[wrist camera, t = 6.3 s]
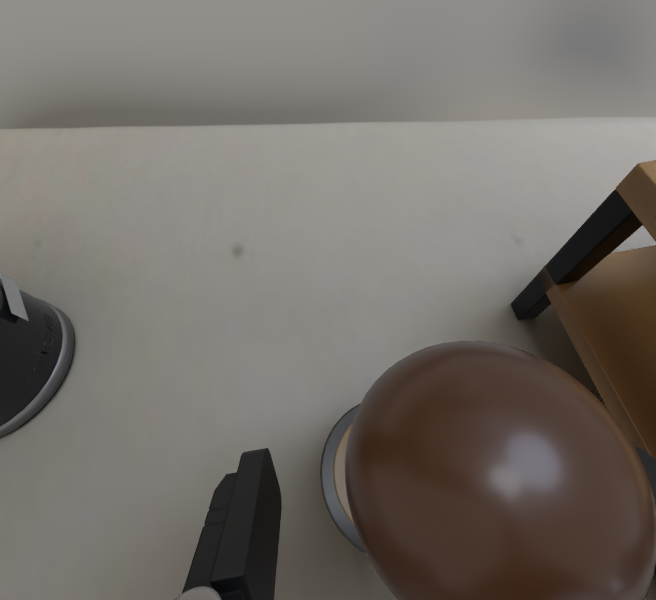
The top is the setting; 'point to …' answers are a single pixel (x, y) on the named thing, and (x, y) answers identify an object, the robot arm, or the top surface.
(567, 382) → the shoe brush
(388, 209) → the top surface
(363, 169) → the top surface
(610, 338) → the tan black-edged stand
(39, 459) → the top surface
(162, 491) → the top surface
